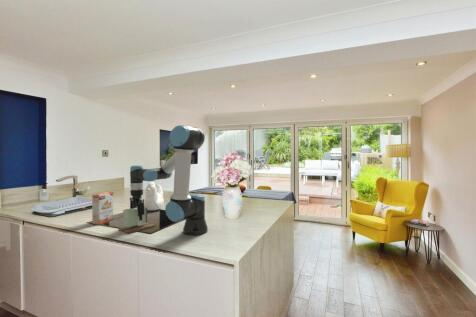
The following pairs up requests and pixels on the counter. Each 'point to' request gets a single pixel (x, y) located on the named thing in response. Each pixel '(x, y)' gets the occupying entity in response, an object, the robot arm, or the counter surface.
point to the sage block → (133, 217)
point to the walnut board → (136, 228)
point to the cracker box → (102, 207)
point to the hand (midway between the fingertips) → (137, 224)
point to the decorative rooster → (154, 197)
